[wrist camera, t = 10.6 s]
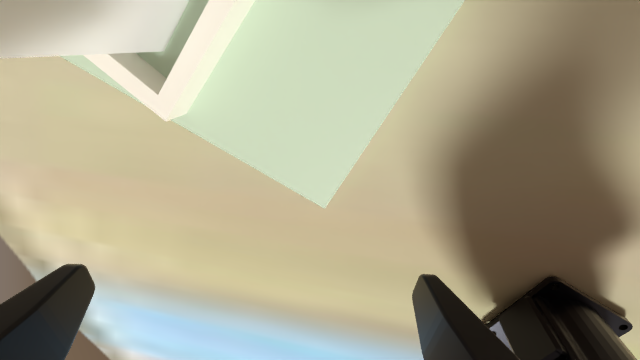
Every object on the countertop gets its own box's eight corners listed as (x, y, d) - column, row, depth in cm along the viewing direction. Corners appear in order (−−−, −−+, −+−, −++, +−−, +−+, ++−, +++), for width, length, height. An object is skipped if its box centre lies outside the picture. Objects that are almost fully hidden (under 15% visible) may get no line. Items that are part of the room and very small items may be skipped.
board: (487, -40, 14) (495, -45, 13) (326, 201, 20) (324, 208, 19) (86, -308, 12) (63, -335, 12) (52, 42, 19) (36, 42, 18)
